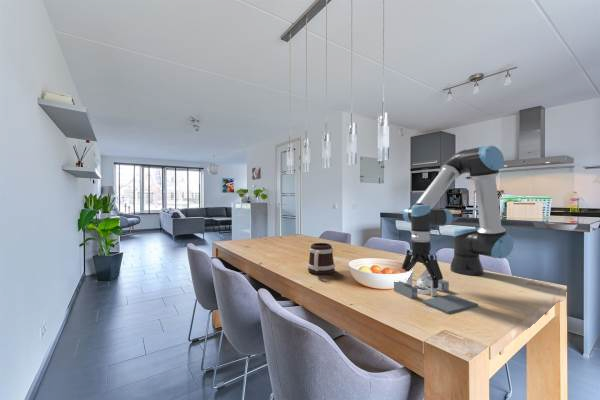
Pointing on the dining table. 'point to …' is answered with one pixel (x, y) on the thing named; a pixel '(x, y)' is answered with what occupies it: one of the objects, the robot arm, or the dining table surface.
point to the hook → (422, 284)
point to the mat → (449, 303)
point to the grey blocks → (412, 291)
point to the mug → (321, 259)
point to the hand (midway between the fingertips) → (421, 290)
